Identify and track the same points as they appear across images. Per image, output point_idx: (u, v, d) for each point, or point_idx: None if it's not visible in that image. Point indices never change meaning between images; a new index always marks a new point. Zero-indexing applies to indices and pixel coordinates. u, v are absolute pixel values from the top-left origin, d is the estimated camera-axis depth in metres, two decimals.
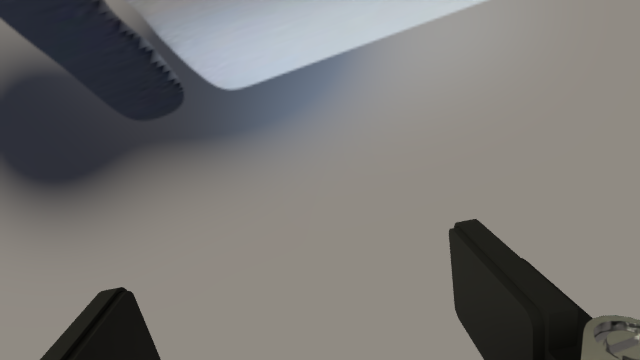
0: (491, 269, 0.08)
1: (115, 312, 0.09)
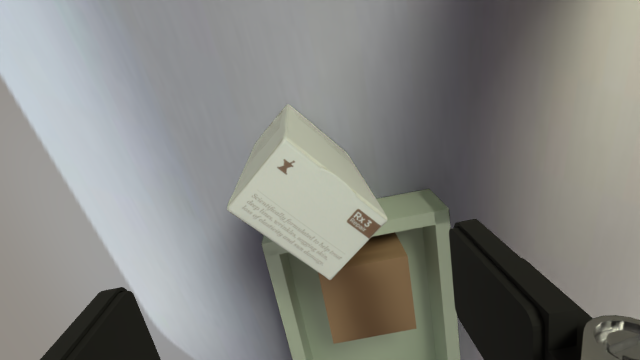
0: (491, 269, 0.08)
1: (115, 312, 0.09)
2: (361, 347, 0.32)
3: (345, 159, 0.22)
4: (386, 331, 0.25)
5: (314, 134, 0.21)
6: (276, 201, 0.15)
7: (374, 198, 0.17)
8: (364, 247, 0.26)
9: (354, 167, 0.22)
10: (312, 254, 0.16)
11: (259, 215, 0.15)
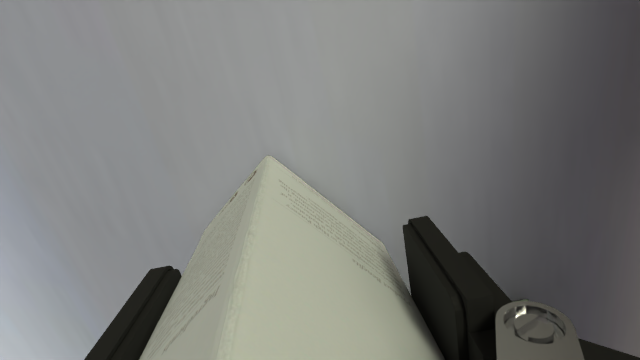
0: (429, 261, 0.08)
1: (168, 287, 0.10)
2: None
3: (397, 301, 0.09)
4: None
5: (326, 257, 0.08)
6: None
7: None
8: None
9: (417, 317, 0.10)
10: None
11: None
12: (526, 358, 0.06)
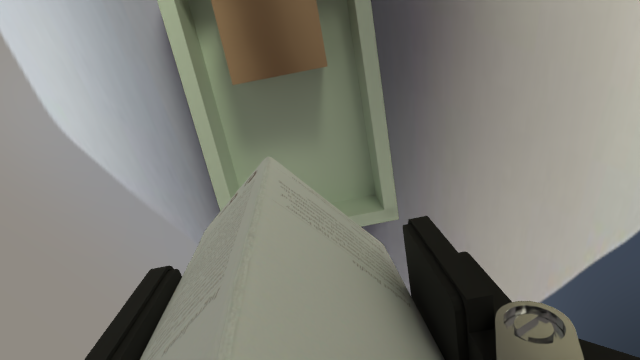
0: (429, 261, 0.08)
1: (167, 287, 0.10)
2: (286, 148, 0.29)
3: (398, 303, 0.09)
4: (292, 69, 0.22)
5: (326, 258, 0.08)
6: None
7: None
8: None
9: (418, 318, 0.10)
10: None
11: None
12: (526, 358, 0.06)
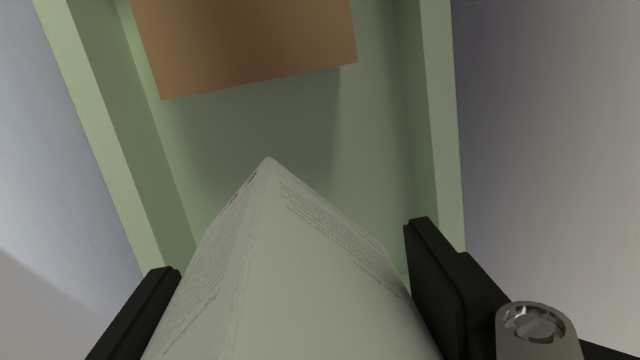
0: (429, 261, 0.08)
1: (167, 287, 0.10)
2: None
3: (398, 303, 0.09)
4: (286, 68, 0.11)
5: (326, 259, 0.08)
6: None
7: None
8: None
9: (418, 319, 0.10)
10: None
11: None
12: (525, 358, 0.06)
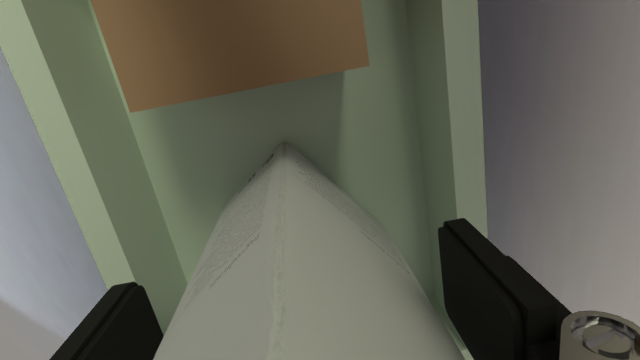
0: (476, 266, 0.08)
1: (128, 305, 0.09)
2: None
3: (399, 268, 0.11)
4: (282, 73, 0.09)
5: (340, 224, 0.10)
6: None
7: None
8: None
9: (415, 283, 0.11)
10: None
11: None
12: None
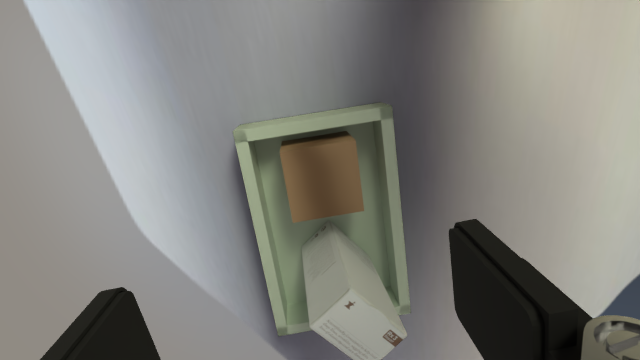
0: (491, 269, 0.08)
1: (115, 312, 0.09)
2: None
3: (372, 272, 0.31)
4: (338, 212, 0.30)
5: (353, 257, 0.30)
6: (341, 324, 0.24)
7: (397, 315, 0.27)
8: (321, 140, 0.30)
9: (378, 277, 0.32)
10: (359, 355, 0.25)
11: (329, 331, 0.24)
12: None
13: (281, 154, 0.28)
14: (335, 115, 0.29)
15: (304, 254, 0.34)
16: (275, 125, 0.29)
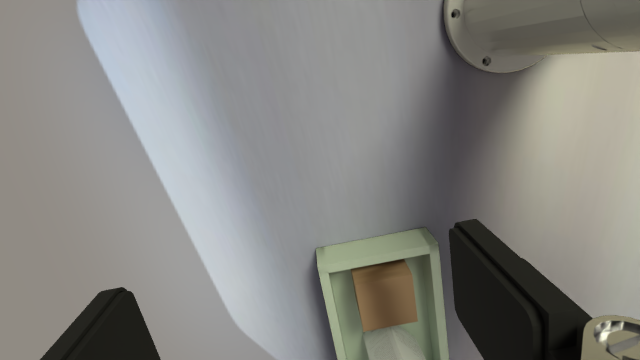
0: (491, 269, 0.08)
1: (115, 312, 0.09)
2: None
3: None
4: (398, 323, 0.39)
5: (409, 354, 0.40)
6: None
7: None
8: (383, 268, 0.39)
9: None
10: None
11: None
12: None
13: (356, 286, 0.37)
14: (395, 252, 0.38)
15: (367, 344, 0.43)
16: (349, 261, 0.38)
